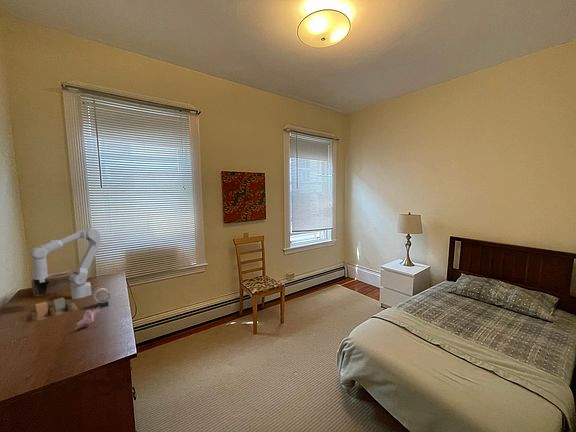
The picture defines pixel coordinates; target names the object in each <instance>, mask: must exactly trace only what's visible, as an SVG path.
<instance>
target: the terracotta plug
mask: <svg viewBox="0 0 576 432" xmlns="http://www.w3.org/2000/svg"><path fill="white" fill-rule="evenodd" d="M35 312H36V315H37V317H41V316H45V315H48V302H47V301H42V302H39V303H36V304H35Z"/></svg>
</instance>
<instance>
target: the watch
mask: <svg viewBox="0 0 576 432" xmlns="http://www.w3.org/2000/svg"><path fill="white" fill-rule="evenodd" d="M100 291H103V292H104V293H105V294H106V295H107V296H108V297H107V299H103V300H100V299H98V298H97V297H96V294H97V293H98V292H100ZM111 297H112V292H111V291H110V290H109V289H108V288H107V287H105V288H104V287H102V288H101V287H100V288H98V289H97V290H95V291H94V294H93V299H94V301H96V302H97V306H98V307H99V306H100V307H99V309H102V308H107V307H109V300H110V299H111ZM98 307H97V308H98Z"/></svg>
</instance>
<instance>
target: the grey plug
mask: <svg viewBox="0 0 576 432" xmlns="http://www.w3.org/2000/svg"><path fill="white" fill-rule="evenodd" d="M65 300H66V299H65V297H59V298H56V299H55V298H54V299H53V307H54V309H55V312H60V311H63V310H66V306H65Z"/></svg>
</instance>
